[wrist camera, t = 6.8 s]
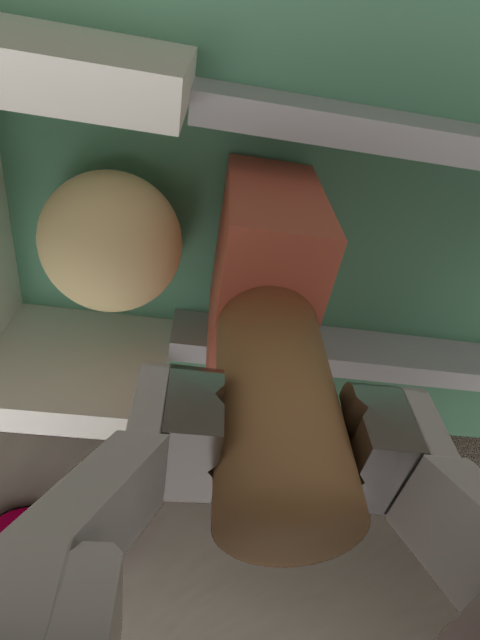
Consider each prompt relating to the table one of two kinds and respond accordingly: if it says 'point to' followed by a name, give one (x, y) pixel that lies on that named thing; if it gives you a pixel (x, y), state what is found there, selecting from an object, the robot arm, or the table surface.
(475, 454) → the table surface
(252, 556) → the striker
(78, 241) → the ball
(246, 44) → the pitch
